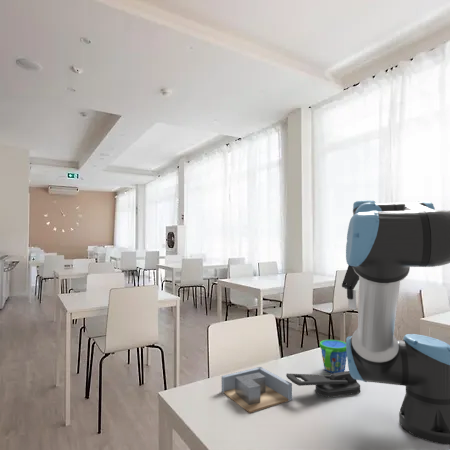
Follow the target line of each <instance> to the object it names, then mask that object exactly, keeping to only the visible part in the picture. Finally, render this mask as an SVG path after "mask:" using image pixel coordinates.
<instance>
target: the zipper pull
mask: <svg viewBox="0 0 450 450" xmlns="http://www.w3.org/2000/svg"><path fill="white" fill-rule="evenodd" d="M285 375H286V378H287V379H288V380H289V382H290V381H291V382H292V383H293V384H295V385H296V386H299V387H301V386H303V387H304V386H315V391H316V394H318V395H320V396H322V397H325V398H329V399H330V398H336V397H343V396H344V397H345V396H350V395H352V396H353V395H357V394H359V393H360V392H361V385H360V383H359V382H358V380H355V379H353V378H352V377H351V375H350V372H349V370H348V371H346V370H344V372H338V373H331V374H310V373H286V374H285Z"/></svg>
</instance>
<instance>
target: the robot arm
mask: <svg viewBox="0 0 450 450" xmlns="http://www.w3.org/2000/svg"><path fill="white" fill-rule="evenodd" d="M352 206H353V208H352V213H353V214H352V216H351V217H350V220H349V223H348V228H347V235H346V245H345V260H346V264H347V266H348V267H347V269H346V272H345V275H344V277H343V281H342V283H341V287H342V288H344V289H346V297H347V301H348V309H350V310H353V311H354V310H357V311H358V312H357V313H358V314H357V328H356V329H355V330H354V332H353V333H352V335H349V336H347V337H346V340H345V343H346V352H347V358H346V361H347V366H348V371H349V372H350V375H351V377H352V378H353V379H355V380H357V381H362V382H365V383H375V384H377V383H378V384H385V385H396V386H402V387H403V386H404V387H405V394H404V398H403V400H402V403H401V407H400V409H399V413H398V416H399V419H398V420H399V424H400V426H401V427H402V428H403V429H404V430H405V431H406V432H408V433H409V434H411V435H413V436H414V437H417V438H419V439H422V440H424V441H427V442H431V443H435V444H442V445H450V344H449V343H447V342H445V341H443V340H441V339H437V338H435V337H431V336H428V335H423V334H416V333H407V334H405V335H404V336H403V338H402V339H403V340H402V339H397V338H396V336H395V327H396V319H397V318H396V317H397V312H398V311H397V309H398V302H399V301H398V300H399V292H400V286H401V282H402V281H403V280H405V279H406V278H407V276H408V275H409V273H410V268H432V267H433V268H434V267H435V268H436V267H440V266H445V265H448V264H450V210H448V209H441V210H440V209H438V210H437V209H435V206H434V204H433V203H432V202H431V201H415V202H413V201H411V202H385V203H383V202H381V203H377V202H376V201H375V200H367V199H363V200H356V201H355V202H353V205H352ZM357 284H358V304H357V290H356V289H355V287H356V285H357ZM357 305H358V308H357Z"/></svg>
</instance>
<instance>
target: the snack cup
mask: <svg viewBox="0 0 450 450" xmlns="http://www.w3.org/2000/svg"><path fill="white" fill-rule="evenodd" d="M319 348H320V350H321V357H322V362H323V368H324V370H325V371H326V372H328V373H331V374H334V373H338V372H345V371H346V364H347V352H346V341H343V340H337V339H324V340H321V341H320V342H319Z"/></svg>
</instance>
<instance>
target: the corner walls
mask: <svg viewBox="0 0 450 450" xmlns="http://www.w3.org/2000/svg"><path fill="white" fill-rule="evenodd" d="M254 373H261V374H262V375H264V376H265V384H266V386H268V387H269V388H271V389H273V390H274V391H276V392H278V393H279V394H281V395H283V396H284V397H286V398H287V399H288V401H287V402H289V401H293V390H292V389H293V387H292V386H293V384H292V383H293V382H292V383H291V382H290V381H288V380H287V379H285V378H282V377H280V376H278V375H277V374H275V373H273V372H272V371H269V370H267V369H266V368H264V367H262V366H257V367H254V368H250V369H245V370H241V371H238V372H233V373H232V372H231V373H229V374H224V375H221V392H222V393H223V394H224V391H227V390H231V389H234V388H235V377H239V376H244V375H249V374H254Z"/></svg>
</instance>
